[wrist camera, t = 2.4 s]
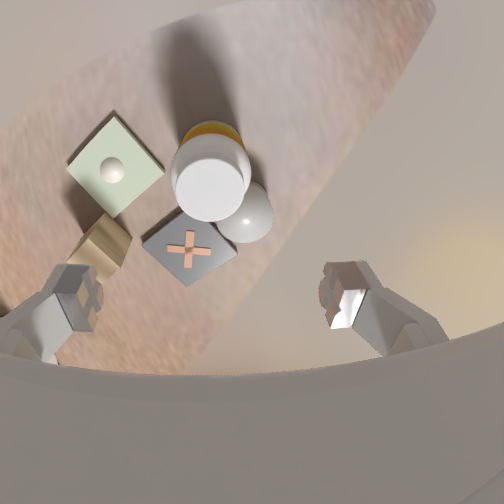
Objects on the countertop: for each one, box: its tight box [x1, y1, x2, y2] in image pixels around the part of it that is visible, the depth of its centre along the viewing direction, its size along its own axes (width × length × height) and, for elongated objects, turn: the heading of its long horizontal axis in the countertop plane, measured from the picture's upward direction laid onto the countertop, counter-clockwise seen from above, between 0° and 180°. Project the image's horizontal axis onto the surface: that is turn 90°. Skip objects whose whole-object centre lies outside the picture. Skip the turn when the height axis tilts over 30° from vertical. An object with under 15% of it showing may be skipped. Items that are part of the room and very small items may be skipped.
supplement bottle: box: [170, 120, 251, 222], centre depth 20 cm, size 5×5×10 cm
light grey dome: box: [216, 180, 274, 243], centre depth 26 cm, size 5×5×3 cm
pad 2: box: [141, 211, 237, 287], centre depth 29 cm, size 7×7×1 cm
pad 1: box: [66, 116, 165, 219], centre depth 23 cm, size 7×7×1 cm
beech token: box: [67, 212, 132, 284], centre depth 25 cm, size 4×4×5 cm
